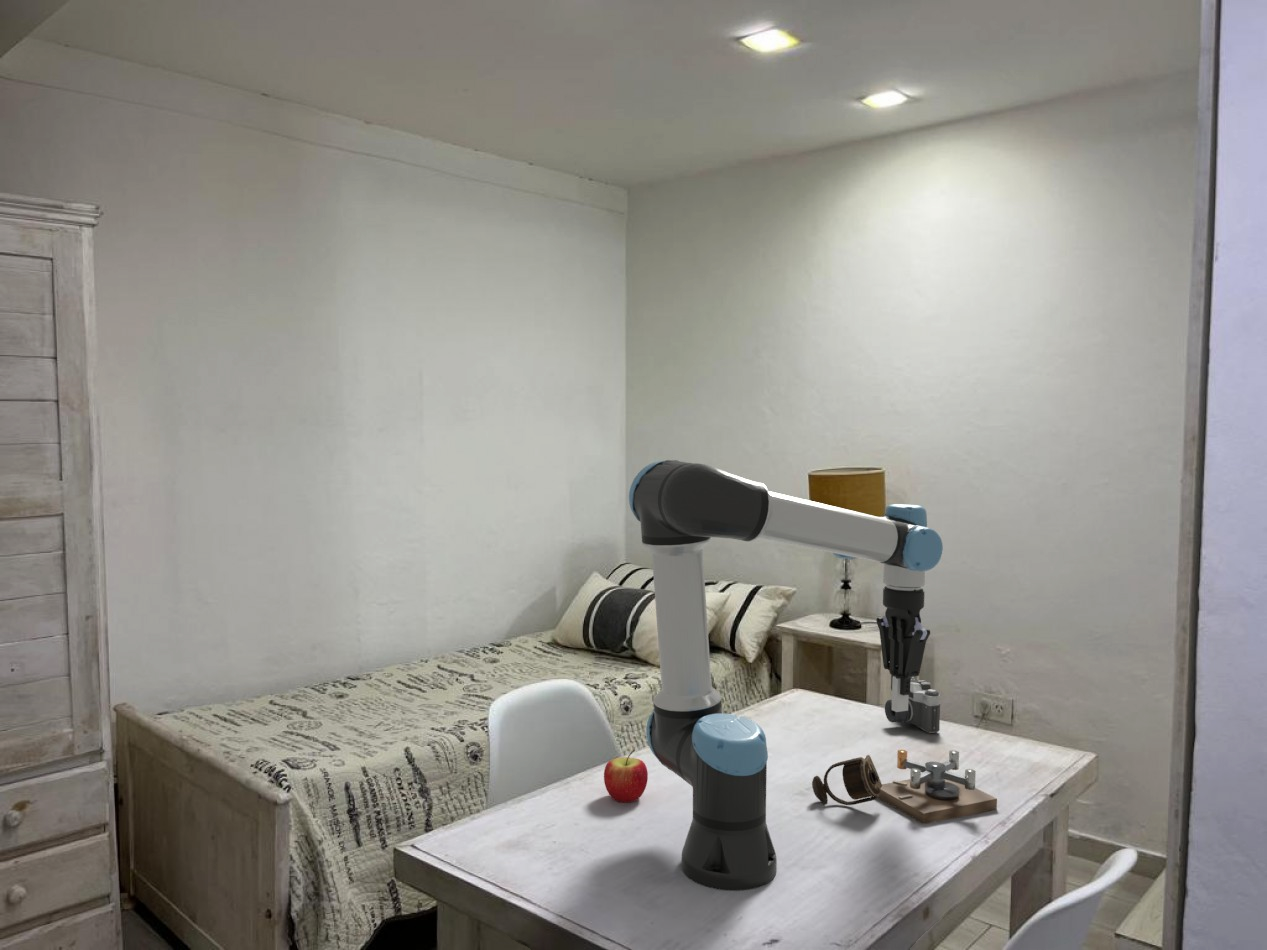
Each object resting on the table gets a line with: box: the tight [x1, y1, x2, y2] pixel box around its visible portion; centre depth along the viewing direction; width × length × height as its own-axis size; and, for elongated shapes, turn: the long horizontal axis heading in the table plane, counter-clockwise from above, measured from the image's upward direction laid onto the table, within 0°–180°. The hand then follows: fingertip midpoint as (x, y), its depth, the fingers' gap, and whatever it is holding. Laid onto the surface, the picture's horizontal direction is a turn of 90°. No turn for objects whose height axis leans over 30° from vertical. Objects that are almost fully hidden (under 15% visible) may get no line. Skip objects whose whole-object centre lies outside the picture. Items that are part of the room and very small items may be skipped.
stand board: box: [877, 778, 998, 825], centre depth 183 cm, size 17×14×2 cm
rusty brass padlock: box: [811, 754, 882, 806], centre depth 179 cm, size 7×13×10 cm, turn 78°
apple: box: [603, 748, 649, 803], centre depth 183 cm, size 8×8×10 cm
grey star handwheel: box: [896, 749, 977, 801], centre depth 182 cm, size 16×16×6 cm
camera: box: [884, 677, 941, 734], centre depth 229 cm, size 16×10×10 cm, turn 14°
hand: (899, 710), depth 184 cm, fingers closed
